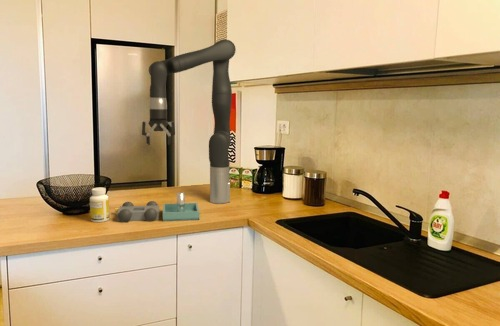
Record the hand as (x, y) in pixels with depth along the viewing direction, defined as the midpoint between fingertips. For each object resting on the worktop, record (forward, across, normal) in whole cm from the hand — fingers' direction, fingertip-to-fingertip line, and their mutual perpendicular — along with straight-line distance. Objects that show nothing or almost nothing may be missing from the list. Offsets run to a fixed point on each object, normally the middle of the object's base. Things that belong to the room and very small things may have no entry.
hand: (158, 144), depth 184 cm
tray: (+28, -9, +17) cm, 34 cm away
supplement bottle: (+28, +23, +19) cm, 41 cm away
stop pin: (+27, -9, +17) cm, 33 cm away
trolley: (+28, +9, +17) cm, 34 cm away
